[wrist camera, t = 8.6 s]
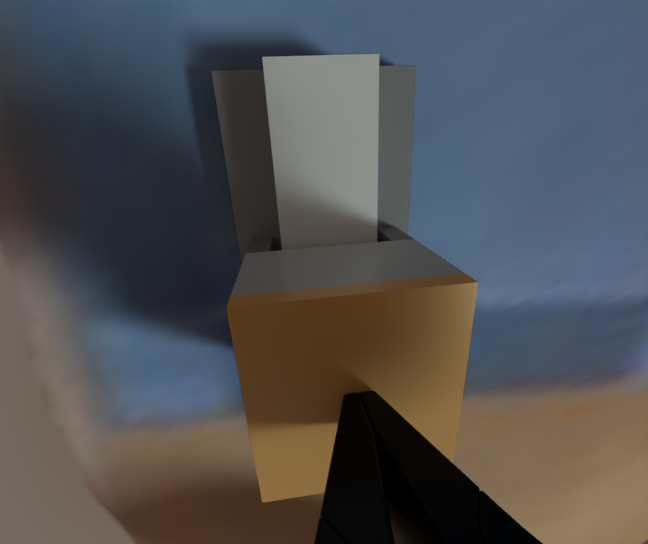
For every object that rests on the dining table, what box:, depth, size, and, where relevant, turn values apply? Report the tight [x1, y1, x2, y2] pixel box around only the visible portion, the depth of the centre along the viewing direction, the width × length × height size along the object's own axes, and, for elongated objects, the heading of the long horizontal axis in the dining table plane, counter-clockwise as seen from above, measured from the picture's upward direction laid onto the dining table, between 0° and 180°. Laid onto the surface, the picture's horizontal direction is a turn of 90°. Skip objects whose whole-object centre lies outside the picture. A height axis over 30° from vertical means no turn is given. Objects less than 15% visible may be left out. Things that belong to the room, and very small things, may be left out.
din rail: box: [211, 54, 416, 265], centre depth 14 cm, size 18×7×2 cm, turn 3°
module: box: [226, 227, 478, 503], centre depth 11 cm, size 6×6×6 cm
